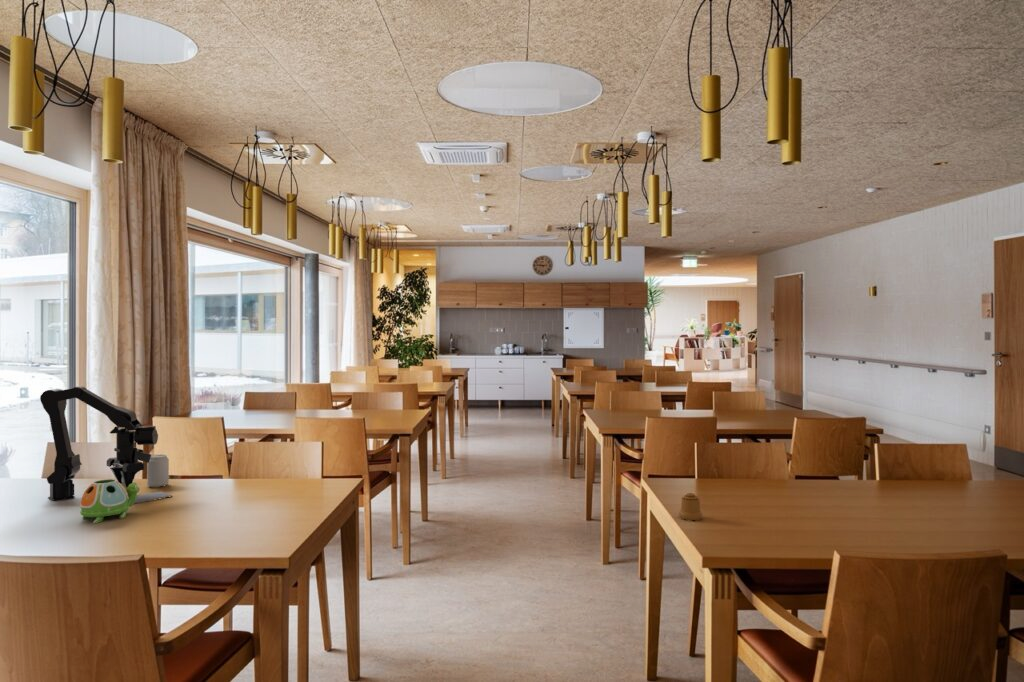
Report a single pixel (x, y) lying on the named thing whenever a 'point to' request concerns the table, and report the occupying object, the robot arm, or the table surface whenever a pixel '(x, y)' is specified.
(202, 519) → the table surface
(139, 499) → the grey mat
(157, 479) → the can
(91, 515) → the turtle holder
